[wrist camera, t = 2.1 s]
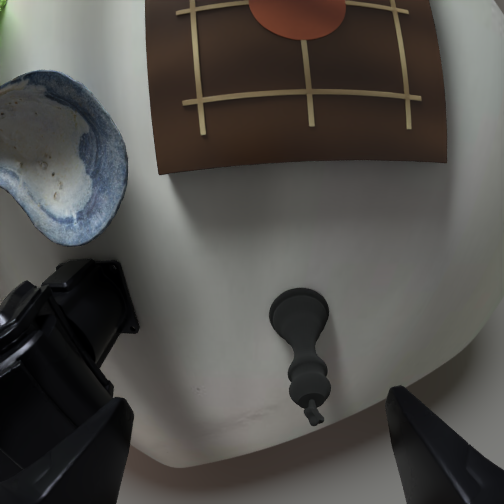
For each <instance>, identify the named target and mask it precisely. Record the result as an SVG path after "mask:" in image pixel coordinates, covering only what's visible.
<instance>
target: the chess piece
mask: <svg viewBox="0 0 504 504" xmlns="http://www.w3.org/2000/svg"><path fill="white" fill-rule="evenodd" d="M328 316H329V308H328V304H327V302H326V300H325V299H324V297H323V296H322V295H320V294H319V293H318V292H316V291H314V290H311V289H306V288H296V289H291V290H288V291H286V292H284V293H282V294H281V295H280V296H278V297H277V298H276V299H275V300H274V302H273V304H272V305H271V308H270V312H269V319H270V323H271V325H272V327H273V328H274V330H275V331H276V332H277V333H278V334H279V335H280V336H281V337H282V338H283V339H285V340H286V342H287V343H288V344H289V345H291V347H292V348H293V351H294V360H293V362H292V363H291V365H290V367H289V369H288V378H289V380H290V381H291V382H292V383H291V385H290V387H289V394H290V397H291V399H292V400H293V401H294V402H295V403H296V404H297V405H299V406H300V407H302V408H304V409H305V410H304V413H305V415H306V417H307V418H308V420H309V422H310V424H311V425H312V426H316V425H318V424H320V423H323V422H324V417H323V416H322V415H321V414H320V413H319V411H318V410H317V407H319V406H321V405H322V404H323V403H324V402H325V401H326V399H327V398H328V396H329V395H330V391H331V384H330V381H329V380H328V378H327V377H326V376H327V373H328V369H327V366H326V364H325V362H324V361H323V360H322V359H321V358H320V357H319V356H318V355H317V354H316V350H315V345H316V342H317V340H318V338H319V336H320V334H321V332H322V331H323V329H324V327H325V325H326V322H327V320H328Z"/></svg>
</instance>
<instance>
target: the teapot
mask: <svg viewBox="0 0 504 504" xmlns="http://www.w3.org/2000/svg"><path fill="white" fill-rule="evenodd" d="M6 1H7V0H0V11H1V10H2V9H3V7H4V5H5V3H6Z"/></svg>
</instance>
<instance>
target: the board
mask: <svg viewBox="0 0 504 504" xmlns="http://www.w3.org/2000/svg"><path fill="white" fill-rule="evenodd" d="M145 27H146V52H147V69H148V83H149V96H150V107H151V117H152V126H153V135H154V143H155V151H156V159H157V166H158V173H159V175H164V174H171V173H178V172H186V171H194V170H202V169H211V168H221V167H231V166H242V165H254V164H268V163H284V162H305V161H340V160H381V161H415V162H434V163H447V118H446V101H445V89H444V80H443V71H442V64H441V57H440V50H439V44H438V39H437V34H436V29H435V24H434V19H433V15H432V11H431V7H430V3H429V0H145Z"/></svg>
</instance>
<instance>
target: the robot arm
mask: <svg viewBox="0 0 504 504" xmlns="http://www.w3.org/2000/svg"><path fill="white" fill-rule="evenodd" d="M113 265H114V266H115V267H116V269H115V268H114V267H113ZM133 327H134V328H133ZM139 329H140V326H139V323H138V320H137V317H136V314H135V310H134V307H133V304H132V301H131V298H130V295H129V291H128V288H127V284H126V281H125V278H124V274H123V270H122V267H121V264H120V263H119V262H118V261H117V260H106V261H95V260H93V259H79V260H69V261H67V262H66V263H61V264H59V265H58V266H57V267H56V271H55V272H54V273H53V274H52V275H51V276H49V277H48V278H47V279H46V280H45V281H44V282H43V283H42V284H41V287H38V288H37V286H36V285H33V284H32V283H31V282H29V281H28V280H26V281H24V282H22V283H21V284H20V285H18V286H17V287H16V288H15V289H14V290H13V291H11V292H10V293H9V294H8V295H7V296H6V298H5V299H4V300H3V302H2V303H1V305H0V504H116V503H117V498H118V494H119V489H120V485H121V481H122V477H123V473H124V469H125V465H126V461H127V457H128V453H129V447H130V440H131V433H132V427H133V420H134V413H133V410H132V409H131V407H130V405H129V404H128V402H127V400H126V399H125V398H121V397H114V398H113V391H114V385H113V384H112V383H111V382H110V380H107V378H106V377H105V376H104V374H103V373H102V372H101V370H100V367H101V365H102V364H103V362H104V360H105V359H106V357H107V355H108V354H109V352H110V350H111V349H112V347H113V345H114V344H115V342H116V340H117V339H118V337H119V335H120V334H121V333H129V334H136V333H138V331H139ZM385 408H386V414H387V419H388V426H389V432H390V437H391V444H392V448H393V452H394V455H395V459H396V463H397V467H398V470H399V473H400V478H401V482H402V486H403V490H404V494H405V498H406V502H407V504H504V470H503V469H501V468H500V467H498V466H497V465H495V464H494V463H492V462H491V461H489V460H488V459H487V458H485V457H484V456H483V455H482V454H480V453H479V452H478V451H477V450H476V449H474V448H473V447H472V446H471V445H468V443H467V442H466V441H465V440H464V439H463V438H462V437H461V436H459V435H458V434H457V433H456V432H455V431H454V430H453V429H451V428H450V427H449V426H448V425H447V424H446V423H445V422H444V421H442V420H441V419H440V418H439V417H438V416H437V415H436V414H434V413H433V412H432V411H431V410H430V409H429V408H428V407H426V406H425V405H424V404H423V403H422V402H421V401H420V400H419V399H417V398H416V397H415V396H414V395H413V394H412V393H411V392H409V391H408V390H407V389H406V388H405V387H404V386H402V385H399V386H394V387H391V388H390V390H389V393H388V396H387V399H386V403H385Z"/></svg>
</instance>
